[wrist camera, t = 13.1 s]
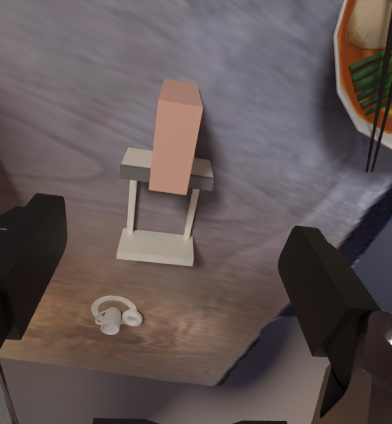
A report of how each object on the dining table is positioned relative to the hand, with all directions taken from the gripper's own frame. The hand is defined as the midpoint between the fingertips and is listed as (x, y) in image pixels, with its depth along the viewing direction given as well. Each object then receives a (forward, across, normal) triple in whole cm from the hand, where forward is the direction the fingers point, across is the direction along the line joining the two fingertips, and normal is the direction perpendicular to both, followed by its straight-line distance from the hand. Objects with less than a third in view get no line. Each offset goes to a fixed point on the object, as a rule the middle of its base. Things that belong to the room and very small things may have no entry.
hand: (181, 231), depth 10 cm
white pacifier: (+26, +5, +41) cm, 49 cm away
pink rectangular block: (+25, 0, +3) cm, 25 cm away
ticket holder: (+25, 0, +14) cm, 29 cm away
